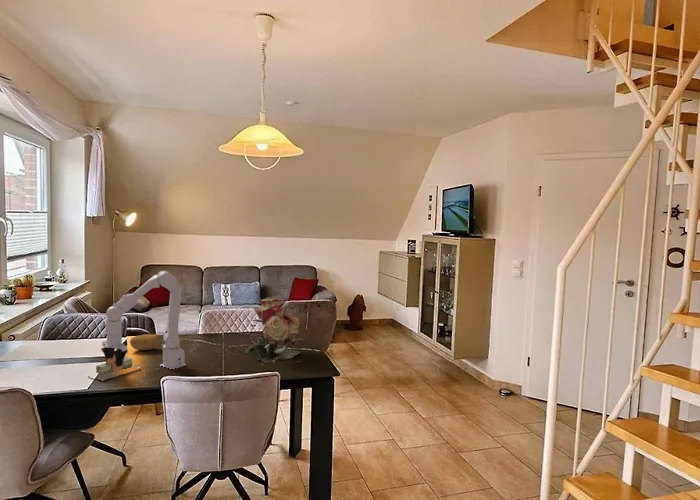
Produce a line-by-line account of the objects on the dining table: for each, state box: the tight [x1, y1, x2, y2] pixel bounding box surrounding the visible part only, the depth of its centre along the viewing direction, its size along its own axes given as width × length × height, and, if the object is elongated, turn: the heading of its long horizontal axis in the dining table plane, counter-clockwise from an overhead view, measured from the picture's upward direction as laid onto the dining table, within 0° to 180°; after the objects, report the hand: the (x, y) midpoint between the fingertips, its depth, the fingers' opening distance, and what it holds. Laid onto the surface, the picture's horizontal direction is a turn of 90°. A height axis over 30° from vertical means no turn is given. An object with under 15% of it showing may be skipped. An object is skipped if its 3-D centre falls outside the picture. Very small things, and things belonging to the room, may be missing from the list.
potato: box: [129, 333, 161, 351], centre depth 229 cm, size 10×14×8 cm
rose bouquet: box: [244, 294, 302, 364], centre depth 228 cm, size 26×29×30 cm
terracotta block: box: [106, 356, 123, 372], centre depth 196 cm, size 4×4×6 cm
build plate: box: [95, 356, 141, 375], centre depth 196 cm, size 10×18×5 cm, turn 151°
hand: (114, 364), depth 196 cm, fingers open, 6 cm apart
